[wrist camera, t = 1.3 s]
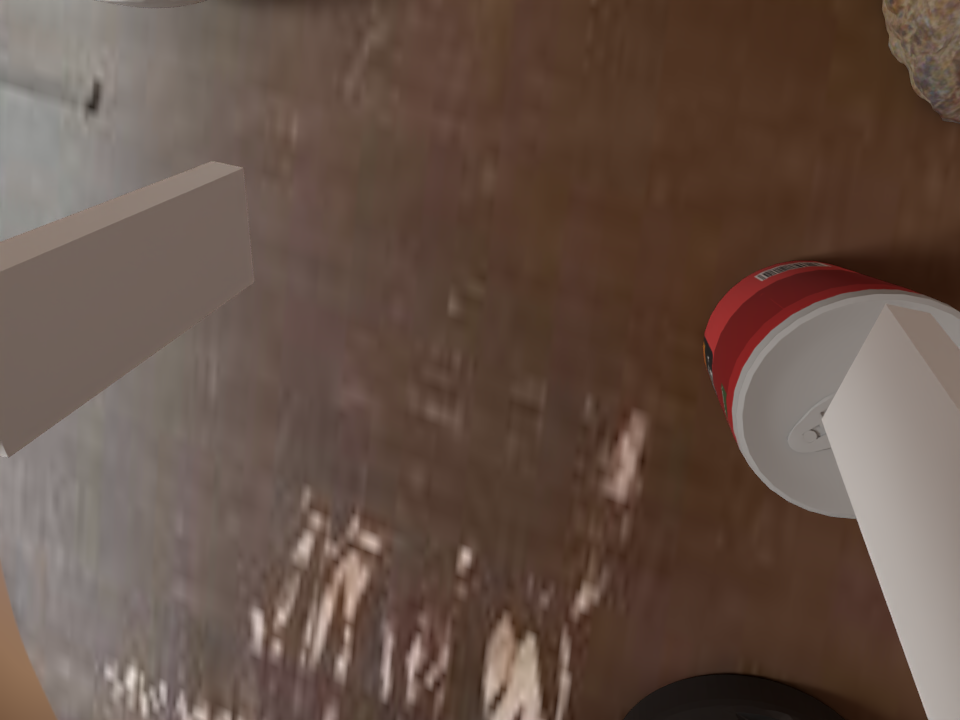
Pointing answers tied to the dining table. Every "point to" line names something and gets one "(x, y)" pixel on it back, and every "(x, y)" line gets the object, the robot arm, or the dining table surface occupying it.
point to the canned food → (798, 368)
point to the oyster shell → (928, 49)
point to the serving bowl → (152, 3)
